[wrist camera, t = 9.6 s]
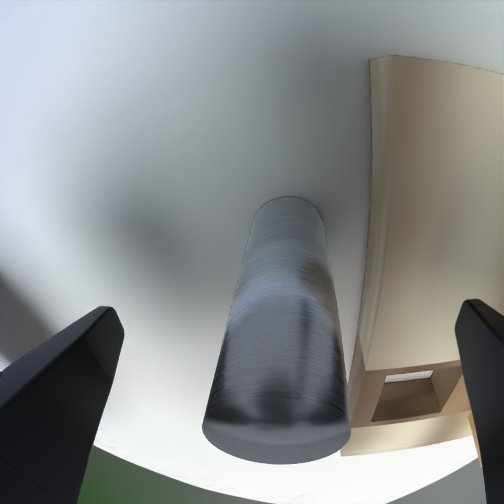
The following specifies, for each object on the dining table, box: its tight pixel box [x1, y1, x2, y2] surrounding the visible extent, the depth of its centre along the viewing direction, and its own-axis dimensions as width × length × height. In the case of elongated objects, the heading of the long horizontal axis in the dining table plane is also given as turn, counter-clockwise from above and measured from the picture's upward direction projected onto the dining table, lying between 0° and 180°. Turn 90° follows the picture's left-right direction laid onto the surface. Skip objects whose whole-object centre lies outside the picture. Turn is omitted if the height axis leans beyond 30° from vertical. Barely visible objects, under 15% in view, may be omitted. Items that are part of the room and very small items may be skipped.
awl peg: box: [202, 197, 351, 464], centre depth 8 cm, size 3×3×8 cm
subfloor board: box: [341, 55, 504, 456], centre depth 11 cm, size 14×20×2 cm
